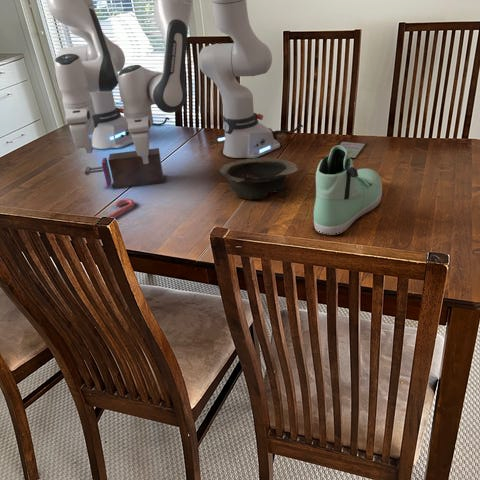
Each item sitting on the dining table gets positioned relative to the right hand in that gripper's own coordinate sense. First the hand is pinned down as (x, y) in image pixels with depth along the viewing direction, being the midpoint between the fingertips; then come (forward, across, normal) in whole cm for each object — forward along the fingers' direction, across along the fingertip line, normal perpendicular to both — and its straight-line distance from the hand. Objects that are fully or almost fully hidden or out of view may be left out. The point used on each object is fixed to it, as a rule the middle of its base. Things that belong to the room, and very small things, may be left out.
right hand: (146, 159), depth 162 cm
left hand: (-5, 0, -18) cm, 18 cm away
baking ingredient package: (+8, -5, +73) cm, 74 cm away
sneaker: (+8, +38, +57) cm, 70 cm away
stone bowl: (+8, +17, +35) cm, 40 cm away
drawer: (+7, 0, -10) cm, 12 cm away
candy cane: (+8, +22, -10) cm, 25 cm away
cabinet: (+8, 0, -4) cm, 9 cm away
